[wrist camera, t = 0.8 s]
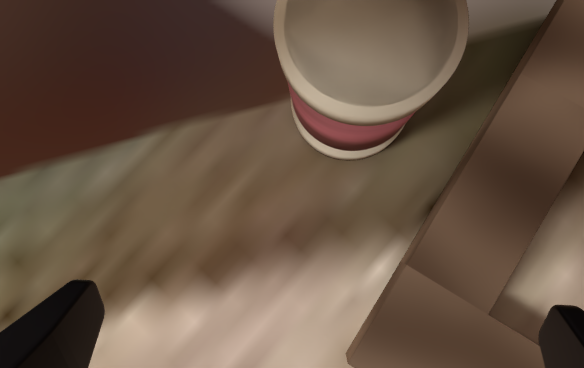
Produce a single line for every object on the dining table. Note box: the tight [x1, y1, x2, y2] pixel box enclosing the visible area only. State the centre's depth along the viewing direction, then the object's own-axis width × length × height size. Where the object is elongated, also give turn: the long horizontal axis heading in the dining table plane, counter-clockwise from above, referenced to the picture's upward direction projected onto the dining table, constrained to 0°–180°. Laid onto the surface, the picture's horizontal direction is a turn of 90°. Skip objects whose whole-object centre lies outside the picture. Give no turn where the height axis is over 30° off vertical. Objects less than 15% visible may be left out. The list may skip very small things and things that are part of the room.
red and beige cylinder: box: [274, 0, 469, 161], centre depth 17 cm, size 6×6×9 cm
